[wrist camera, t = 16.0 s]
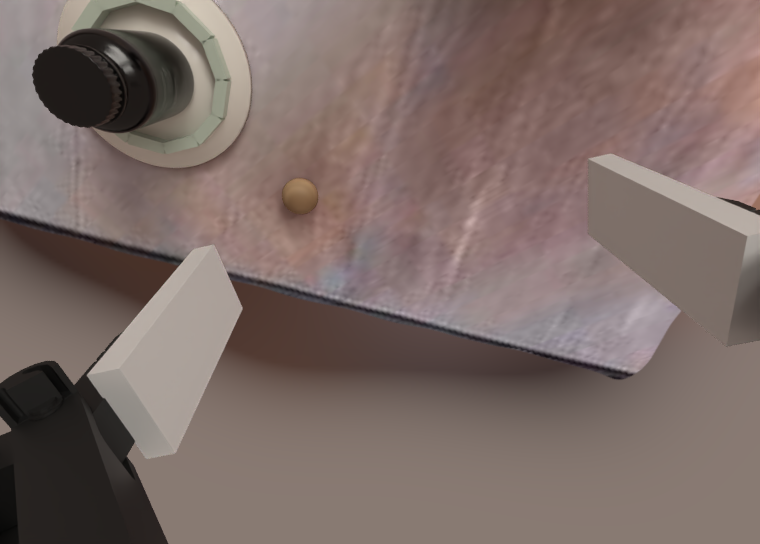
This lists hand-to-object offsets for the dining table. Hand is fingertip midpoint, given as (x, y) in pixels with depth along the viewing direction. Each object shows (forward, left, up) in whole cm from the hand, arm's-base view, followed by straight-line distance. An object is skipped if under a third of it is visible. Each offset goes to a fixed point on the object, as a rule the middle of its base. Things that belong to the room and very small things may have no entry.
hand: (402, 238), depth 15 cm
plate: (-8, -18, -29) cm, 35 cm away
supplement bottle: (-8, -18, -28) cm, 34 cm away
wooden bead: (+5, -9, -29) cm, 30 cm away
